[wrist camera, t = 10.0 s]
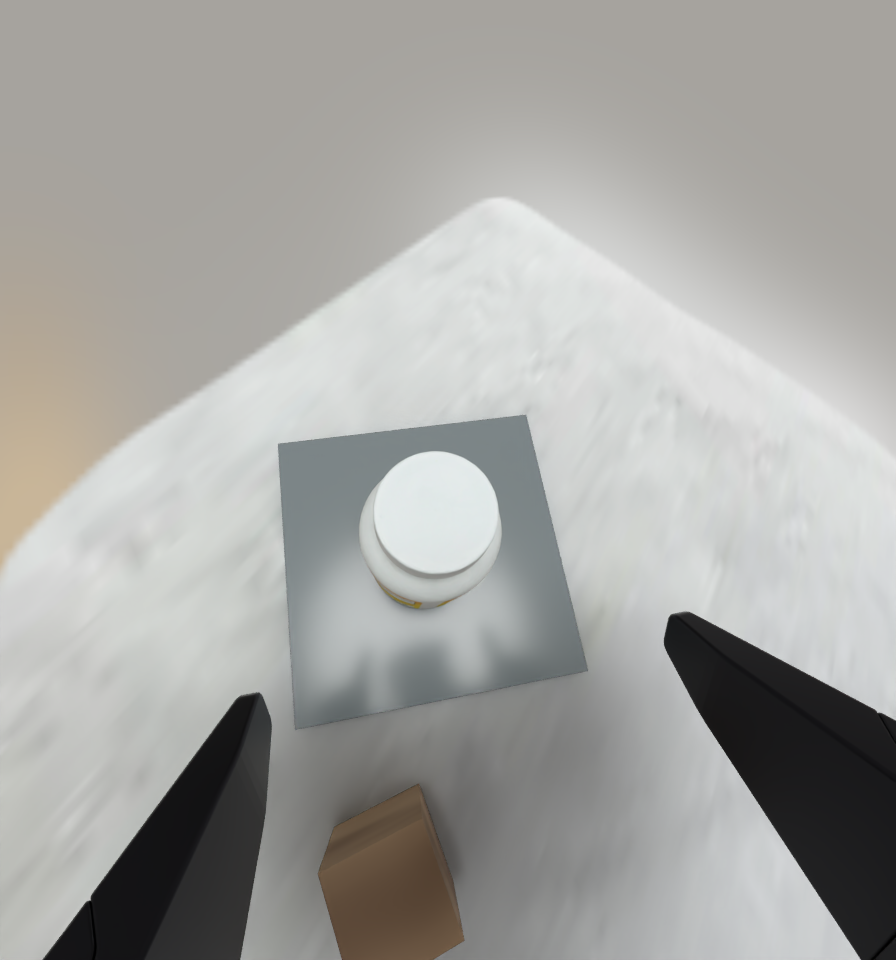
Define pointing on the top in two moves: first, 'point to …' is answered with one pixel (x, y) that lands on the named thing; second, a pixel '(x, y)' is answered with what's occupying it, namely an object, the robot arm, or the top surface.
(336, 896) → the walnut block
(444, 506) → the supplement bottle
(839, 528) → the top surface
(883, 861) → the robot arm
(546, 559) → the coaster
